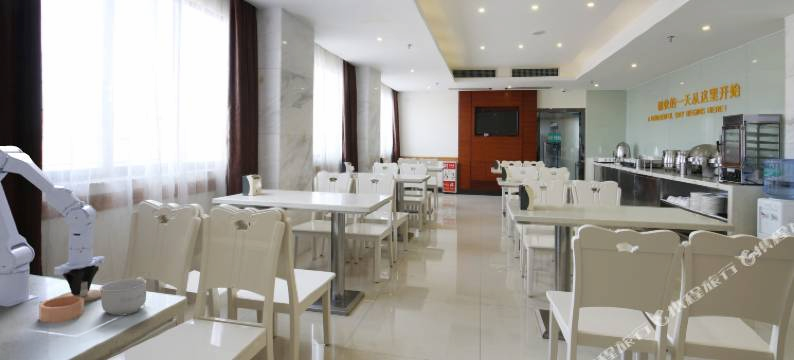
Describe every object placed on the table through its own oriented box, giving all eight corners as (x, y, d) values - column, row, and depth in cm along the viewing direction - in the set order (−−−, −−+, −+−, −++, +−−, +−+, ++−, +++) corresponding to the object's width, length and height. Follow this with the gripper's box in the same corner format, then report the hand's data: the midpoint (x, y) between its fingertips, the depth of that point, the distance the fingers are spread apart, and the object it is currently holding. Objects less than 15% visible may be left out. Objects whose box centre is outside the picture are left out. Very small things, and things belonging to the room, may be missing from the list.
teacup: (123, 321, 110) (124, 291, 109) (89, 316, 112) (89, 286, 111) (163, 303, 123) (163, 277, 123) (131, 299, 125) (132, 273, 125)
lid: (46, 301, 119) (46, 285, 118) (81, 289, 130) (81, 275, 129) (79, 306, 117) (79, 290, 117) (112, 293, 128) (112, 278, 128)
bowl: (30, 321, 107) (30, 305, 106) (63, 308, 115) (63, 294, 115) (60, 325, 105) (60, 309, 105) (91, 312, 114) (91, 298, 114)
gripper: (69, 253, 115) (69, 302, 115) (113, 243, 129) (112, 286, 130) (47, 251, 116) (47, 299, 116) (93, 241, 130) (93, 284, 131)
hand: (80, 292), depth 123 cm, fingers closed on lid, 2 cm apart
